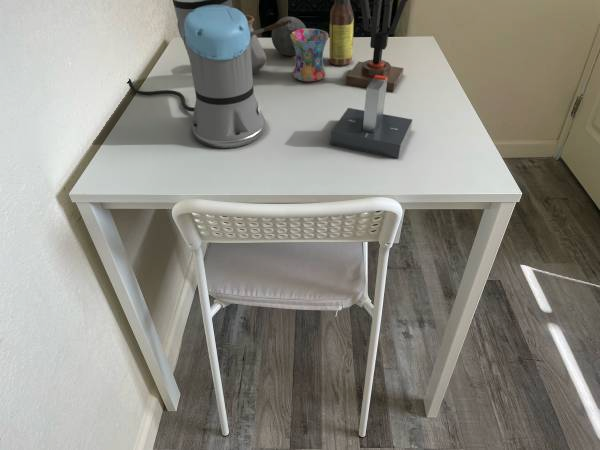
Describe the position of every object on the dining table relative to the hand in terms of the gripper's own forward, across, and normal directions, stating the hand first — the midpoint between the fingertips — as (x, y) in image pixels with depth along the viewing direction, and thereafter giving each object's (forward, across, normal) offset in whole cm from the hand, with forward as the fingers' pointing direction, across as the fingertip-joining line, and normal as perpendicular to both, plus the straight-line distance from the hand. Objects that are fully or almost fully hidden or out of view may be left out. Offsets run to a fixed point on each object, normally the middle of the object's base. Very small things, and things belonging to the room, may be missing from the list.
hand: (376, 61), depth 113 cm
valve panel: (+5, -7, +28) cm, 29 cm away
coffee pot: (+5, +29, +7) cm, 30 cm away
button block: (+5, 0, 0) cm, 5 cm away
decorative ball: (+5, +27, -8) cm, 29 cm away
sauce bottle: (+5, +12, -8) cm, 15 cm away
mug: (+5, +16, +3) cm, 17 cm away
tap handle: (+2, -7, +28) cm, 29 cm away
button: (+2, 0, 0) cm, 2 cm away
